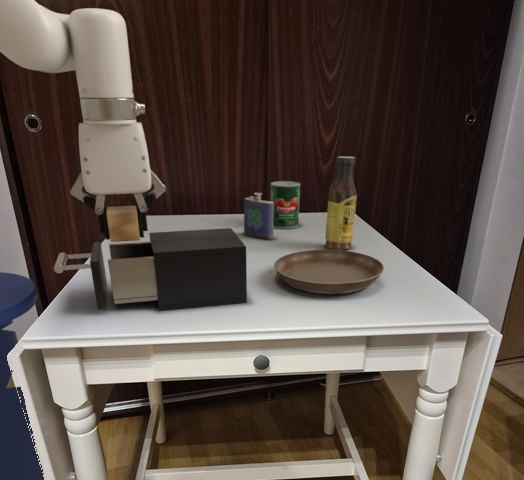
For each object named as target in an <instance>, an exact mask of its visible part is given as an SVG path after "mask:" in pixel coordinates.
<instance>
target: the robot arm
mask: <svg viewBox="0 0 524 480" xmlns="http://www.w3.org/2000/svg"><path fill="white" fill-rule="evenodd" d="M0 53H1V54H2V55H4V56H5V57H6V58H7V59H8V60H10V61H11V62H13V63H14V64H16V65H18V66H19V67H21V68H24V69H27V70H31V71H38V72H42V73H46V74H47V73H48V74H59V73H66V72H71V71H75V75H76V82H77V88H78V93H79V94H78V95H79V100H80V101H79V102H80V109H81V115H82V122H79V123H78V149H79V159H80V161H79V162H80V169H81V172H80V173H79V175H78V177H77V179H76V180H75V182H74V184H73V186H72V187H71V189H70V190H69V191H70V192H69V193H70V195H71V196H72V197H74V198H76V199H77V200H79V201H81V202H83V203H84V204H85V205H86V206H88V207H89V208H90V209H91V210H92V211H93V212H94V213H95V214H96V215H97V217H98V224H99V232H100V234H104V236H105V240H106V241H110V235H109V228H108V221H107V214H106V212H107V207H105V199H106V195H126V194H127V195H128V194H133V195H134V198H135V201H136V204H137V205H136V209H137V217H138V226H139V234H140V239H143V238H144V239H145V233H144V232H148V231H149V229H148V220H147V212H148V209H149V208H150V207H151V206H152V205H153V204H154V202H155V201H156V200H157V199H158V198H159V197H161V196H162V195H163V194H164V193H165V192H166V191H167V188H166V186H165V184H163V183H164V182H162V181H161V179H160V178H159V177H158V176H157V175H156V173H155V172H153V170H152V169H151V165H150V158H149V157H150V156H149V151H148V146H147V141H146V135H145V131H144V128H143V123H142V122H141V121H140V122H138V121H137V117H138V116H141V115H143V114H144V115H146V105H145V103H140V102H137V101H135V99H134V98H135V95H134V89H133V79H132V77H133V76H132V68H131V59H130V49H129V39H128V31H127V23H126V21H125V18H124V17H123V16H122V14H121V13H119V12H117V11H115V10H111V9H107V8H97V7H95V8H94V7H90V8H89V7H86V8H78V9H74V10H72V11H71V12H70V14H66V13H59V12H55V11H53V10H50V9H48V8H47V7H45V6H43V5H41V4H39V3H38V2H37V1H36V0H0ZM152 185H153V186H154V187H153V189H152V190H151V188H152ZM83 188H84V189H85V191H86V192H87V193H89V194H87V193H86V192H85V191H84V190H83ZM149 190H151V191H150V192H148V191H149ZM147 192H148V193H147ZM143 193H147V195H146V196H145V197H144V194H143ZM90 194H91V195H95V196H96V197H95V198H94V197H93V196H91V195H90Z"/></svg>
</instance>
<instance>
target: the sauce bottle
mask: <svg viewBox="0 0 524 480" xmlns="http://www.w3.org/2000/svg"><path fill="white" fill-rule="evenodd" d="M355 165H356V157H355V156H347V155H346V156H337V157H336V172H335V173H336V174H335V179H334V181H333V183H332V184H331V186H330V188H329V193H328V200H327V214H326V225H325V247H326V248H327V249H328V250H343V251H346V250H348V249H350V248H351V247H352V242H353V237H354V235H353V234H354V227H355V217H356V208H357V197H358V195H357V191H356V185H355V182H354V168H355Z"/></svg>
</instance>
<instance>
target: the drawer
mask: <svg viewBox="0 0 524 480" xmlns="http://www.w3.org/2000/svg"><path fill="white" fill-rule="evenodd" d="M108 246H109V252H110V253H109V255H110V258H108V259H107V264H108V265H107V266H108V271H109V278H110V284H111V291H112V298H113V304H115V305H119V304H121V305H122V304H131V303H142V302H153V301H154V302H155V301H158V294H157V284H156V274H155V265H154V256H153V251H152V246H151V241H150V240H149V241H132V242H116V243H108ZM88 258H89V259H90V260H89V263H81V264H68V265H67V261H68V260H75V259H76V260H77V259H88ZM55 261H56V262H55V264H54V266H53V270H54V272H55V273H57V274H62V273H63V272H64V271H72V270H85V269H87V270H88V269H90V271H91V276H92V277H91V278H92V284H93V288H94V289H93V290H94V294H95V295H94V296H95V302H96V307H97V310H105V309H106V308H107V295H108V280H107V274H106V268H105V261H104V254H103V248H102V242H101V241H93V244H92V248H91V253H88V252H87V253H74V254H73V253H72V254H67V253H66V252H64V251H63V252H60V253H59V254H58V256H57V259H56V260H55Z"/></svg>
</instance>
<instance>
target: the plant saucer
mask: <svg viewBox="0 0 524 480" xmlns="http://www.w3.org/2000/svg"><path fill="white" fill-rule="evenodd" d="M273 268H274V270H275V272H276V273H277V275H278V276H279V277H280V278H281V280H283V281H284V282H285V283H286V284H287V285H288V286H290V287H292V288H294V289H297V290H299V291H302V292H307V293H312V294H319V295H344V294H350V293H351V294H352V293H355V292H359V291H361V290H364V289H366V288H368V287H369V286H370V285H372V284H373V283H374V282H375V281H376V280H377V279H379V277H380V276H381V275H382V274H383V273H384V271H385V266H384V264H383V262H382V261H381V260H379V259H377V258H375V257H373V256H370V255H369V254H365V253H361V252H356V251H350V250H334V249H307V250H302V251H295V252H291V253H288V254H286V255H283V256H280V257H279V258H278V259H276V260H275V262H274V263H273Z"/></svg>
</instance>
